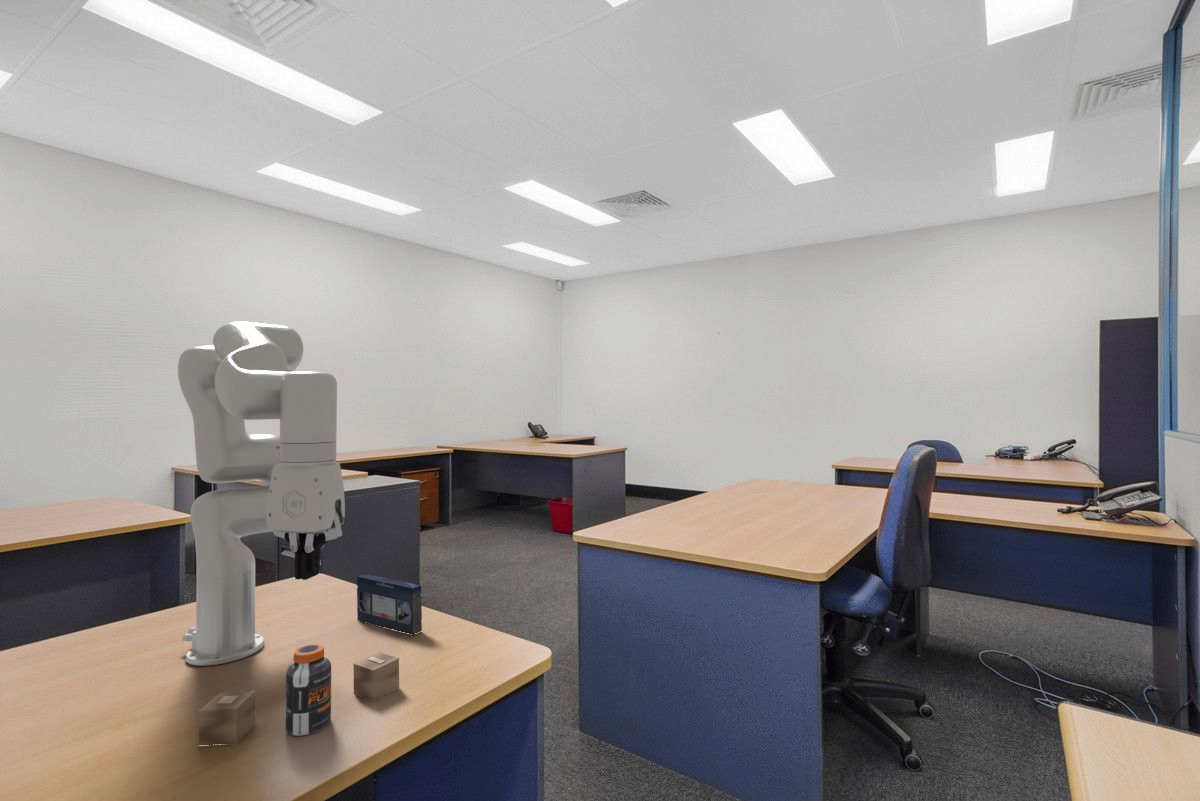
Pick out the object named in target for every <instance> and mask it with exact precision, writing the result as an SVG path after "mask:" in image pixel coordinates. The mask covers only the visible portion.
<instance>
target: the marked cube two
mask: <svg viewBox="0 0 1200 801" xmlns="http://www.w3.org/2000/svg"><path fill="white" fill-rule="evenodd" d="M399 688H400V658H399V657H396V656H393V655H390V654H387V653H383V652H381V651H378V652H376V653H374V654H372V655H370V656H368V657H366V658H363V659H361V660H358V661H356V662H354V663H353V695H356V696H358V697H360V698H363V699H366V700H369V701H370V702H376V701H377V700H379V699H381V698H382V697H384V696H386V695H387V696H388V695H389V694H390V693H392V692H394V691H396V690H398V689H399Z"/></svg>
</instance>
